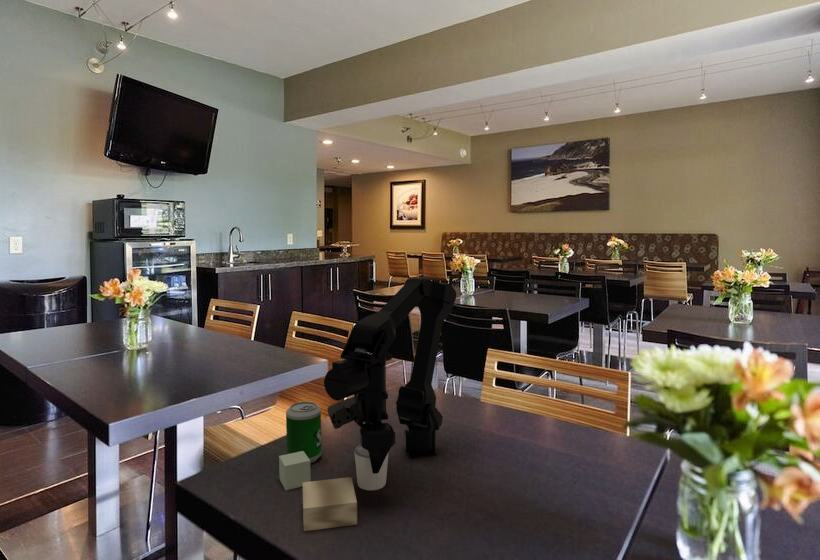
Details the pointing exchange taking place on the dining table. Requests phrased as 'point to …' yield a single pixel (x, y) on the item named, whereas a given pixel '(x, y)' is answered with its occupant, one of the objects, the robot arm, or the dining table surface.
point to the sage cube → (294, 470)
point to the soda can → (304, 429)
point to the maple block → (329, 504)
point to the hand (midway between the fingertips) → (371, 462)
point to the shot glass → (369, 471)
